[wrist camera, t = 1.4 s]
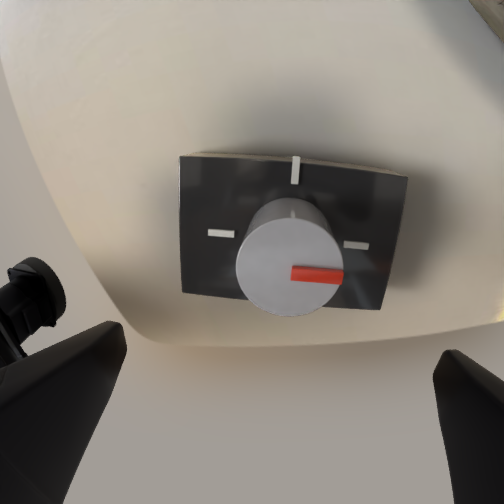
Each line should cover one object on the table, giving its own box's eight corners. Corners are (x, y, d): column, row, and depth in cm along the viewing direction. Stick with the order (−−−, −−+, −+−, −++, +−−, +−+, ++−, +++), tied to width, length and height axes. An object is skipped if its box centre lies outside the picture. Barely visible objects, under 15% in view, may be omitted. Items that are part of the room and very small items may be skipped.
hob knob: (245, 272, 17) (232, 315, 13) (249, 193, 15) (236, 215, 11) (324, 279, 17) (334, 324, 13) (336, 201, 15) (353, 226, 11)
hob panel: (195, 275, 21) (181, 298, 18) (195, 147, 18) (177, 150, 15) (368, 291, 20) (379, 316, 17) (391, 165, 17) (410, 171, 14)
